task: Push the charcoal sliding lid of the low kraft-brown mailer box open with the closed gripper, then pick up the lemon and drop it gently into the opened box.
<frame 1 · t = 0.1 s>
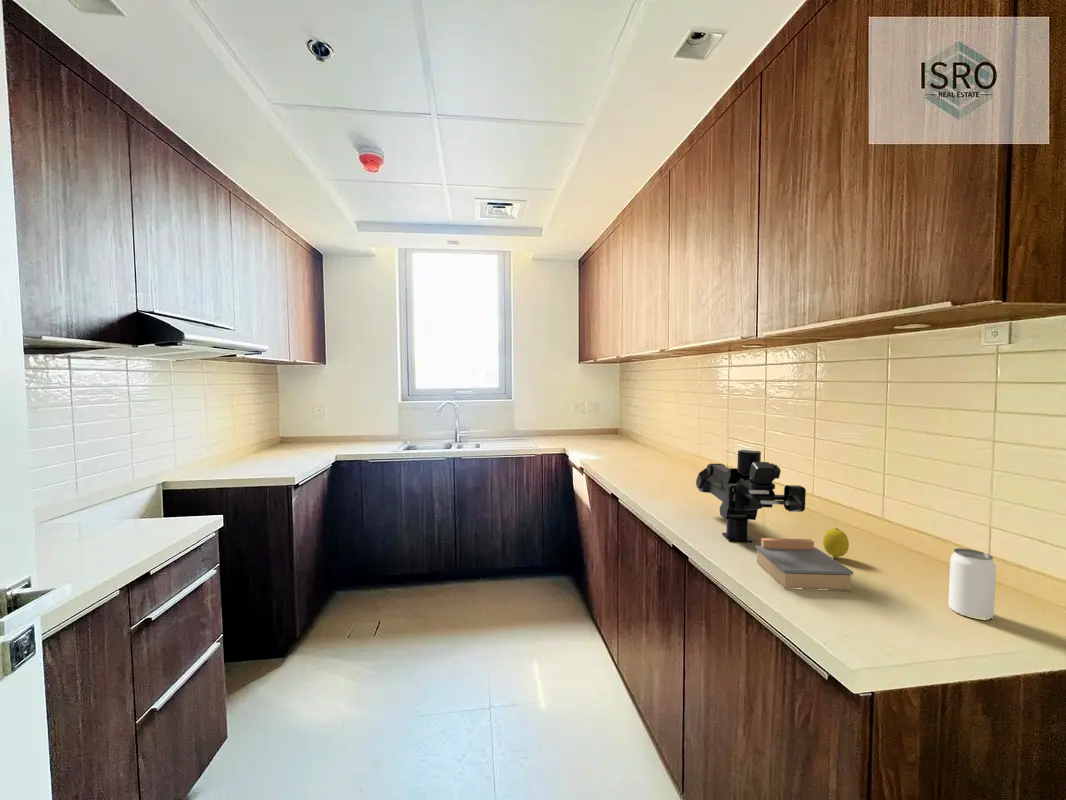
hand: (781, 506, 105), 17 cm above the countertop, tool horizontal, fingers open, 9 cm apart
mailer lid: (800, 554, 105), point 5 cm above the countertop, slide at 0.0 cm
lemon: (835, 558, 117), on the countertop
mailer box: (800, 576, 106), on the countertop
can: (970, 613, 89), on the countertop
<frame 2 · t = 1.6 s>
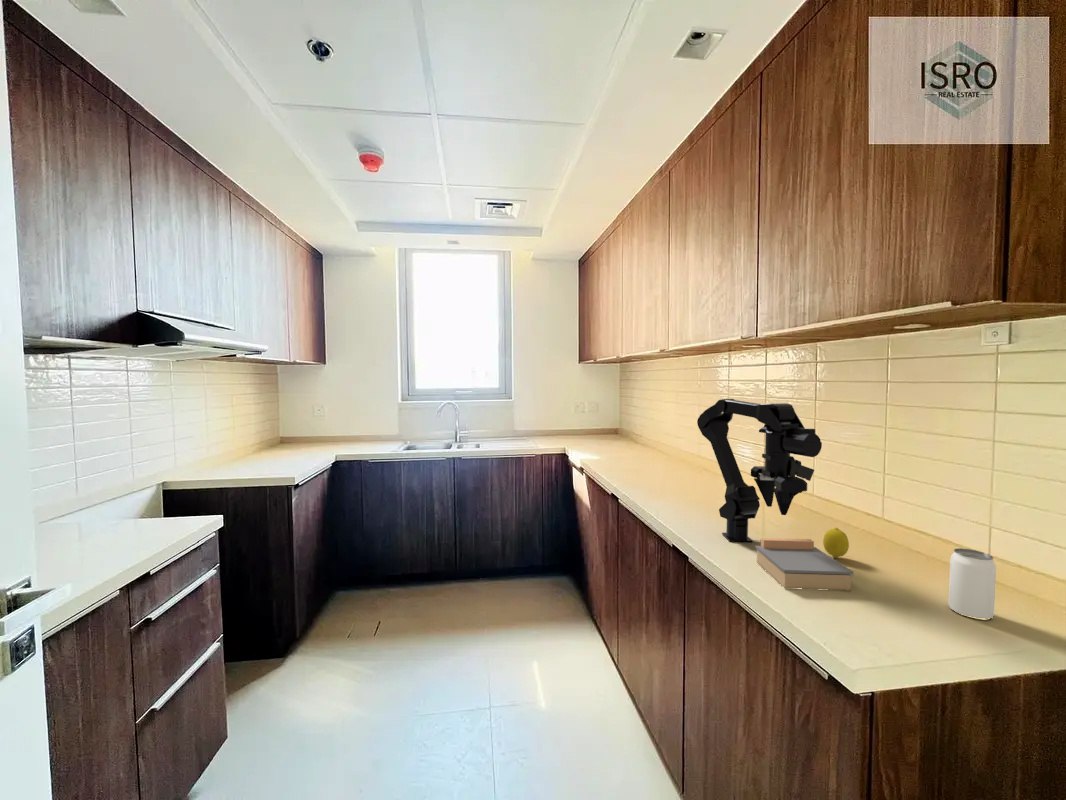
hand: (776, 510, 118), 12 cm above the countertop, tool pointing down, fingers open, 8 cm apart
nothing on the countertop moved.
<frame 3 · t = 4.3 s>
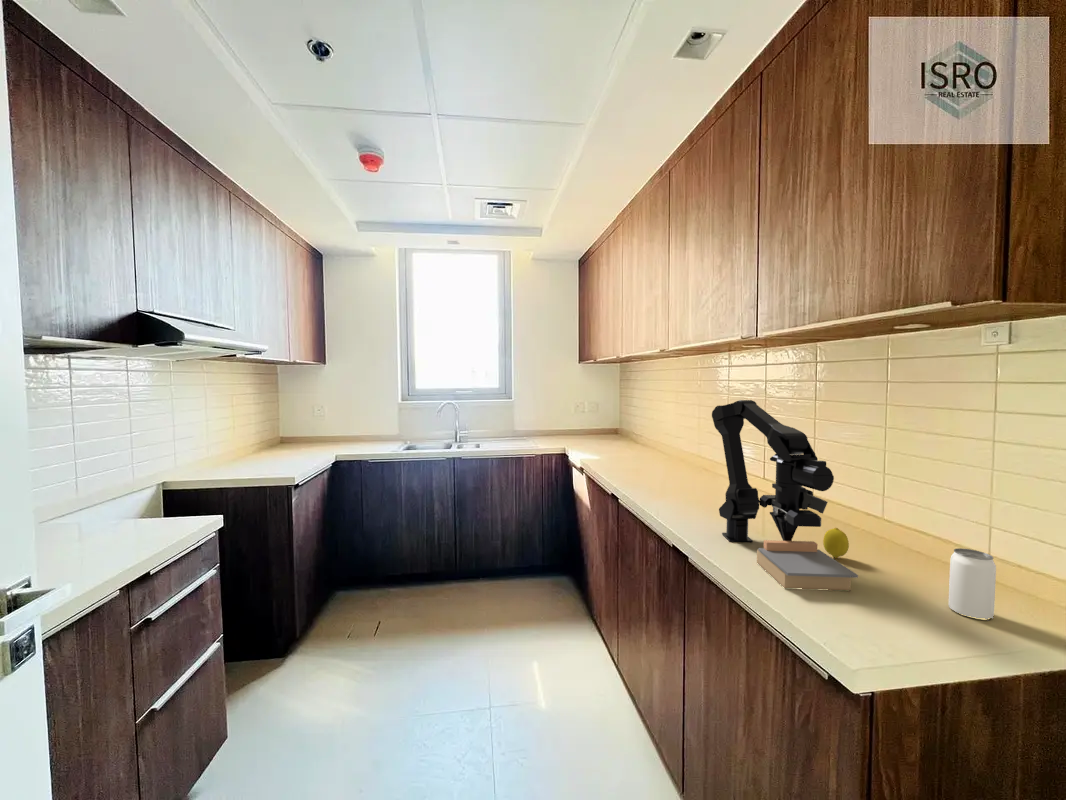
hand: (787, 543, 112), 5 cm above the countertop, tool pointing down, fingers closed
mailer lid: (804, 557, 104), point 5 cm above the countertop, slide at 1.6 cm, touching gripper
everything else where it was.
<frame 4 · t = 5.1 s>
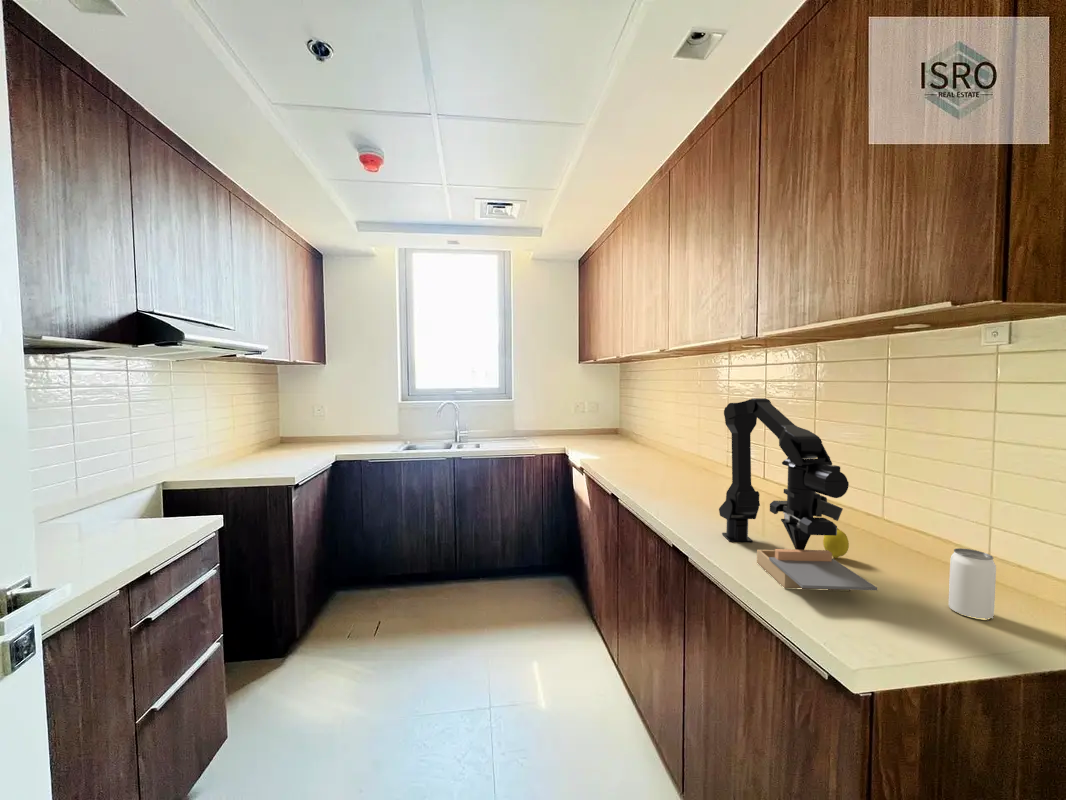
hand: (799, 552, 106), 5 cm above the countertop, tool pointing down, fingers closed
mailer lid: (819, 568, 98), point 5 cm above the countertop, slide at 7.4 cm, touching gripper
everything else where it was.
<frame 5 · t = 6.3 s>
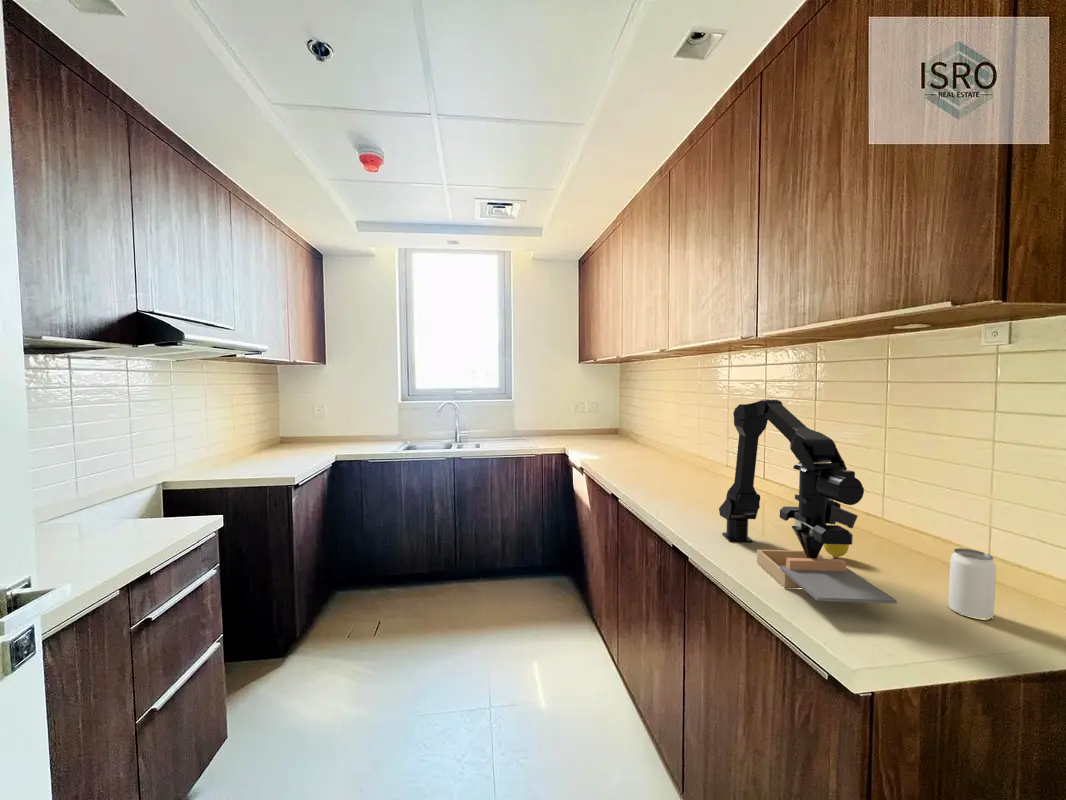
hand: (811, 561, 101), 5 cm above the countertop, tool pointing down, fingers closed
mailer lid: (833, 578, 93), point 5 cm above the countertop, slide at 12.7 cm, touching gripper
everything else where it was.
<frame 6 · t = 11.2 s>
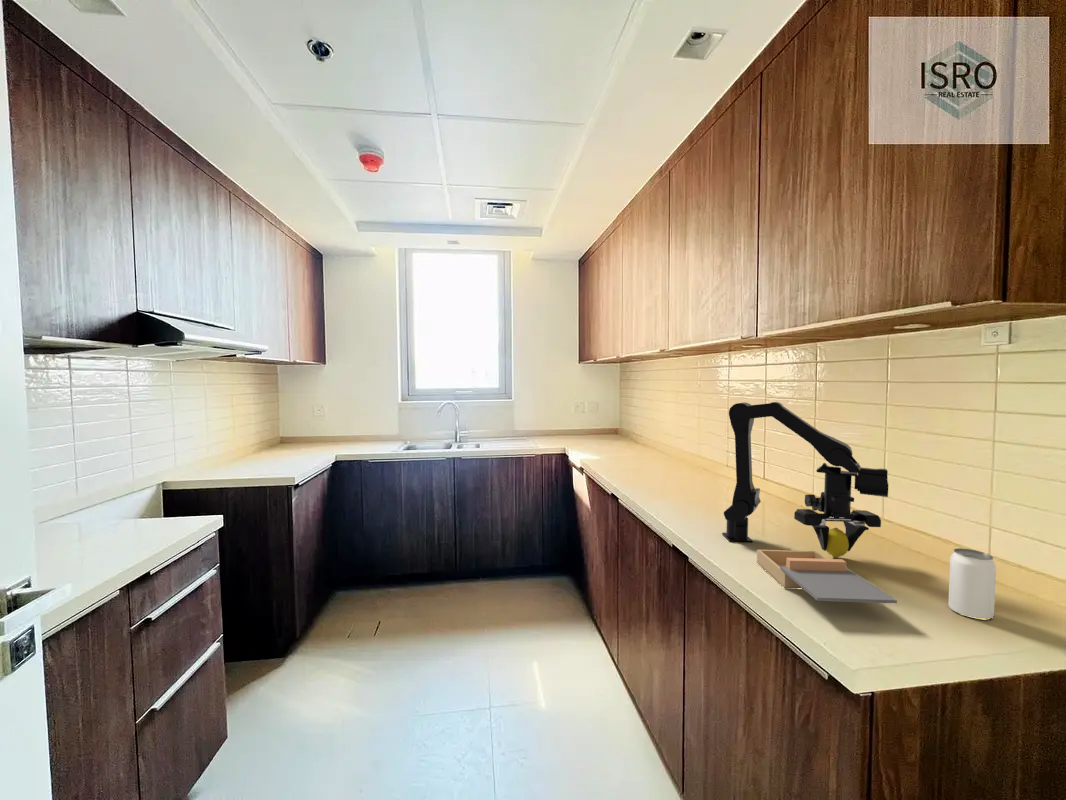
hand: (835, 550, 117), 2 cm above the countertop, tool pointing down, fingers closed on lemon, 5 cm apart
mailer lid: (833, 578, 93), point 5 cm above the countertop, slide at 12.7 cm
lemon: (835, 558, 117), on the countertop, touching gripper
everything else where it was.
when the fingers open (4 cm above the countertop, at t = 16.0 s): lemon drops 2 cm, resting on mailer box.
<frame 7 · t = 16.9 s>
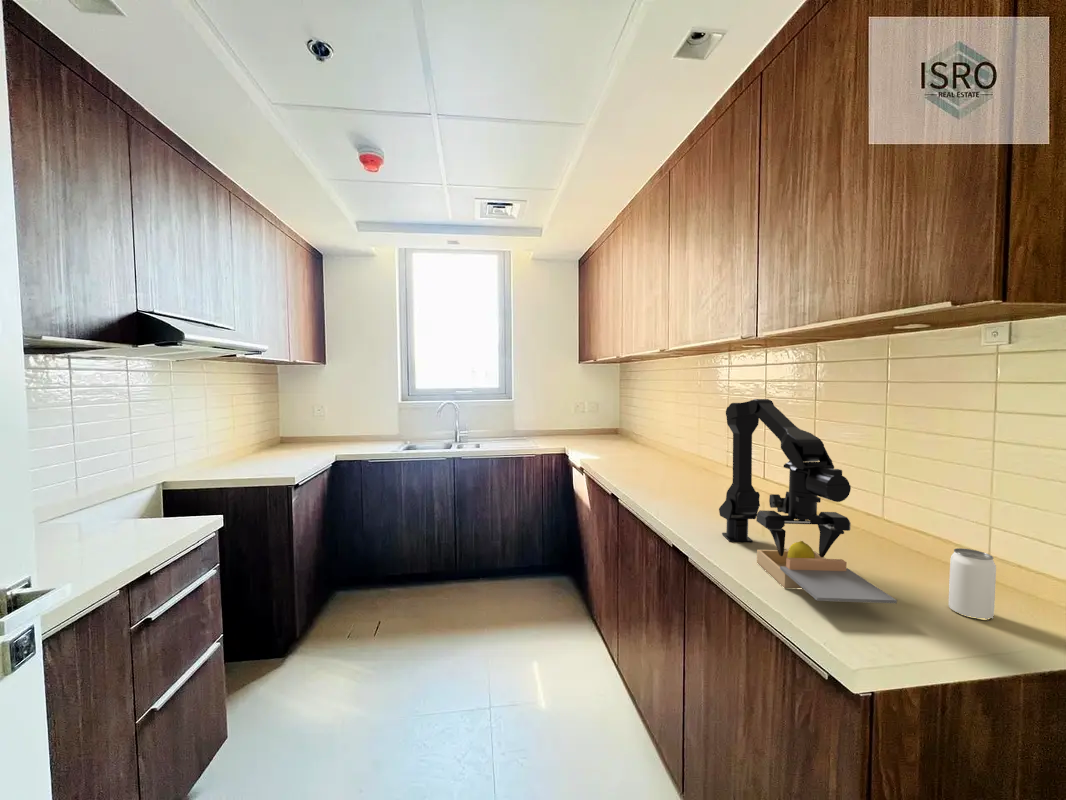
hand: (801, 556, 105), 5 cm above the countertop, tool pointing down, fingers open, 9 cm apart
lemon: (800, 575, 106), resting on mailer box
everything else where it was.
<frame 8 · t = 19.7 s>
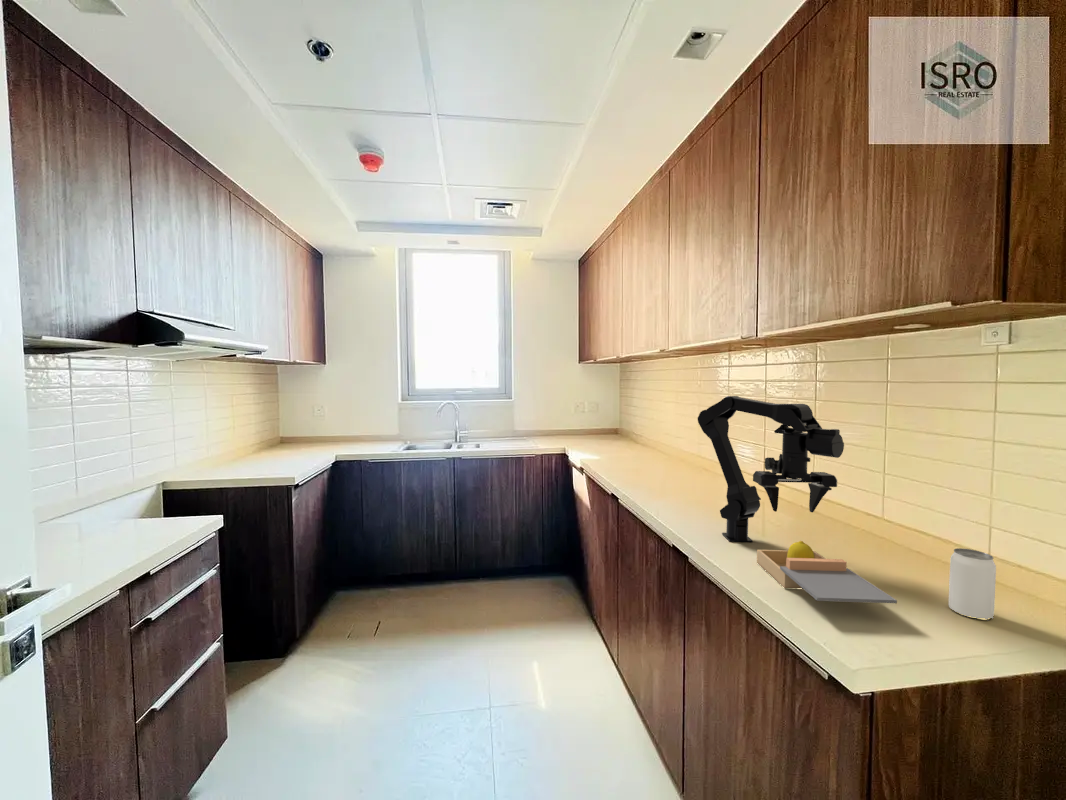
hand: (793, 511, 117), 12 cm above the countertop, tool pointing down, fingers open, 9 cm apart
nothing on the countertop moved.
at the end: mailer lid slide at 12.7 cm; lemon inside the target area on the mailer box (0.2 cm from its centre), point 0.2 cm above the mailer box's base; the gripper is holding nothing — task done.
